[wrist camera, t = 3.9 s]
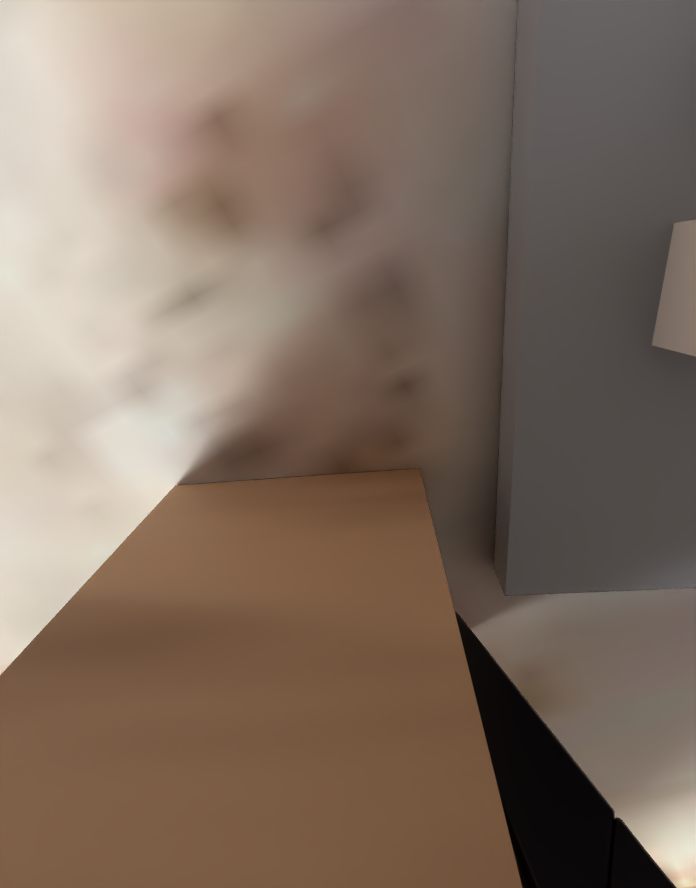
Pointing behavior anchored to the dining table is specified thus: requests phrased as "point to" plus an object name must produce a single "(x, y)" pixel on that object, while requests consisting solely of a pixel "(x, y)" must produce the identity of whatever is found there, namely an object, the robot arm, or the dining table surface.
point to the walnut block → (255, 704)
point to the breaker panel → (600, 302)
